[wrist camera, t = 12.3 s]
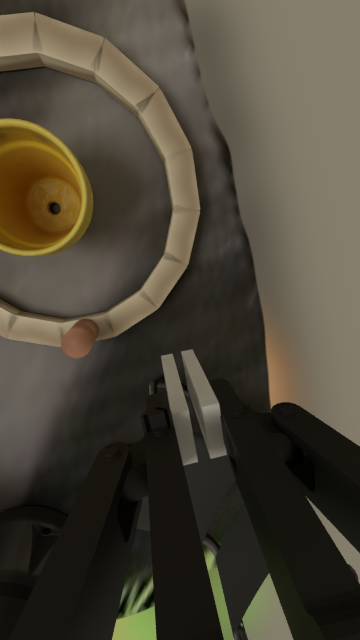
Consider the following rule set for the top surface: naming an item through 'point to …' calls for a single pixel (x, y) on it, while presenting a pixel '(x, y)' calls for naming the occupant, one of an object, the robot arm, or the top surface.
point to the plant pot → (40, 191)
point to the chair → (240, 543)
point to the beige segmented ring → (168, 139)
